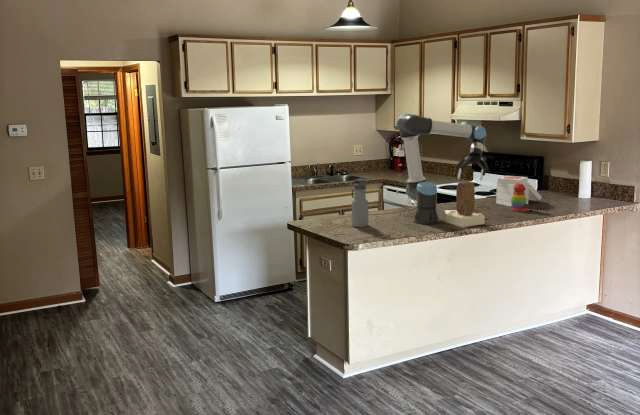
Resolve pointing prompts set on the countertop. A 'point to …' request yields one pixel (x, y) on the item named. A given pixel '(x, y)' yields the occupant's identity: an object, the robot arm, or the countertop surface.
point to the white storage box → (507, 189)
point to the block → (465, 197)
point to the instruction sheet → (450, 211)
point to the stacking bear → (519, 198)
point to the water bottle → (359, 204)
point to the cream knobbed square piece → (464, 219)
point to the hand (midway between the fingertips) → (469, 178)
